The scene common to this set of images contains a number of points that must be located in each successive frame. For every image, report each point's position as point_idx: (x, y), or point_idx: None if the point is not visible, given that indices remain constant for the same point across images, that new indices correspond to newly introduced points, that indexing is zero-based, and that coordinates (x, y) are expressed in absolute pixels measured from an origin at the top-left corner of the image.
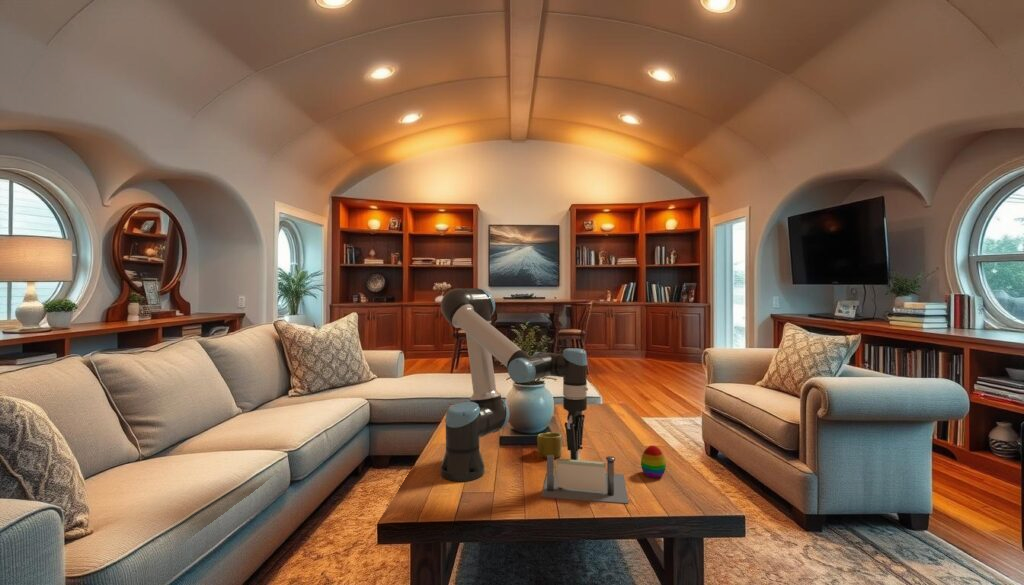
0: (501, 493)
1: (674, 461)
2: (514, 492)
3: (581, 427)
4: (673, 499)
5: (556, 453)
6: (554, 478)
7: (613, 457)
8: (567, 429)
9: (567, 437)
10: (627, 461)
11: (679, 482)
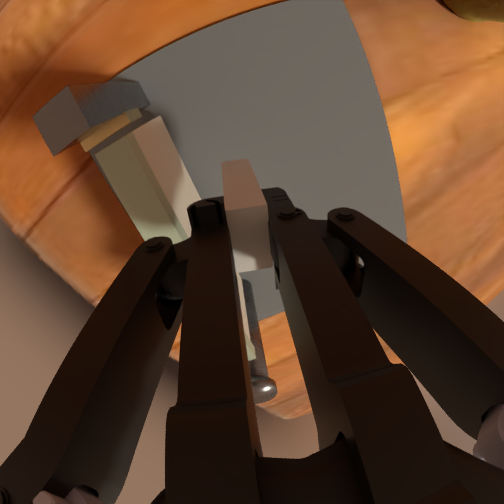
0: (25, 3)
1: (484, 300)
2: (48, 19)
3: (421, 378)
4: (301, 374)
5: (457, 4)
6: (254, 48)
7: (268, 397)
8: (39, 451)
9: (78, 352)
10: (486, 225)
11: (391, 350)
